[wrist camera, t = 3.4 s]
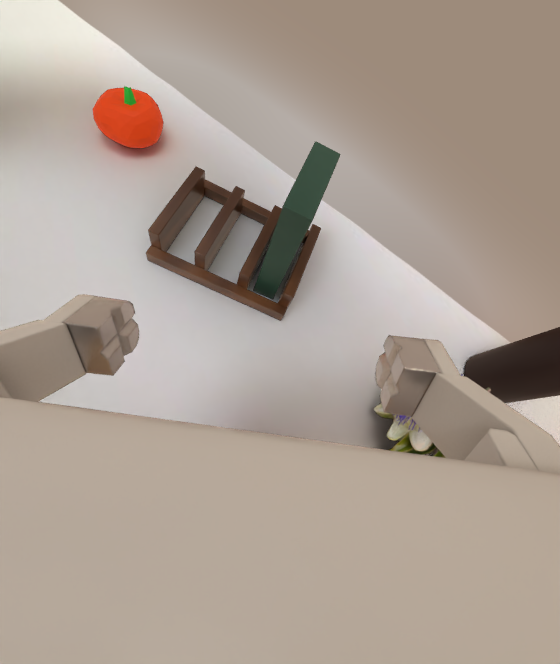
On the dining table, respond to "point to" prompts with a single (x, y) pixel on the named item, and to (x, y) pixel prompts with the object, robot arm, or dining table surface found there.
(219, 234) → the book rack
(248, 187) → the dining table surface
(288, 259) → the book
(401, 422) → the passion flower
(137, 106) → the pumpkin
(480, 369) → the bottle
